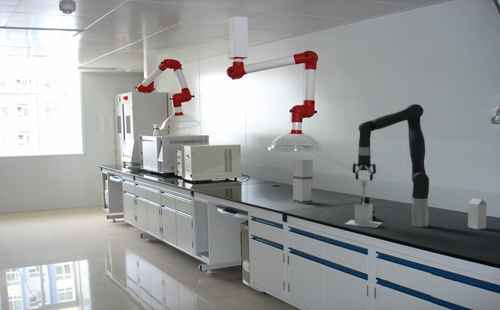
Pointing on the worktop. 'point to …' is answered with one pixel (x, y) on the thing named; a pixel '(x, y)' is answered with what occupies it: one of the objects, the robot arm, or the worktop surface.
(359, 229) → the worktop surface
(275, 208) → the worktop surface
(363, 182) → the plunger
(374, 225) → the tray
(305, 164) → the grey banded column
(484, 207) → the milk carton
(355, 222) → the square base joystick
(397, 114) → the robot arm
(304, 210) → the worktop surface
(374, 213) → the scope
